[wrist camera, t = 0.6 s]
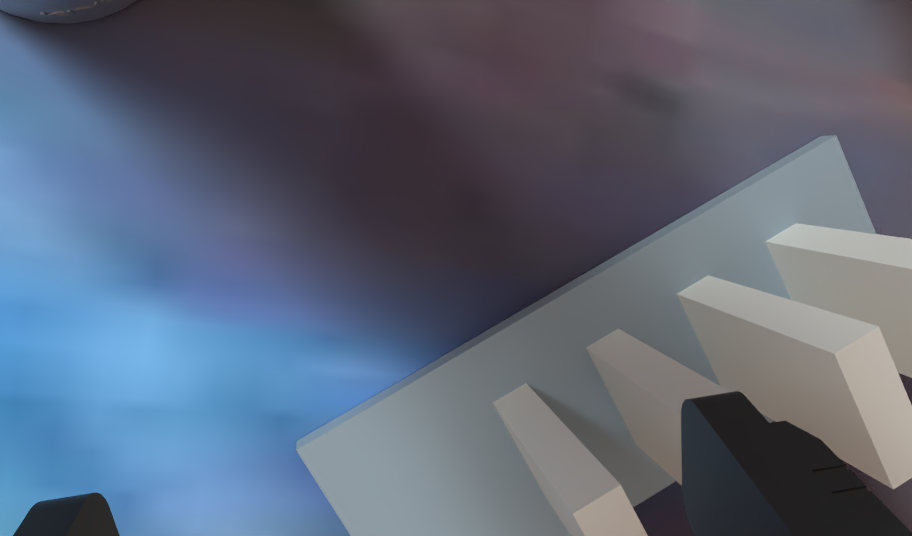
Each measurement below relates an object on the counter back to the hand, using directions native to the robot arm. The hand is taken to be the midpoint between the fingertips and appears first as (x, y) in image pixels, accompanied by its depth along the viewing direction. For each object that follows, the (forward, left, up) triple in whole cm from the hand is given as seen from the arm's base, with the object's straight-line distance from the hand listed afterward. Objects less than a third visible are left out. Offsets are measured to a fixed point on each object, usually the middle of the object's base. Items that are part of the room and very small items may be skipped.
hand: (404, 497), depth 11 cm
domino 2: (+10, +8, -19) cm, 23 cm away
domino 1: (+10, +3, -19) cm, 22 cm away
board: (+10, +8, -20) cm, 24 cm away
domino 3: (+10, +17, -19) cm, 27 cm away
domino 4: (+10, +12, -19) cm, 25 cm away
